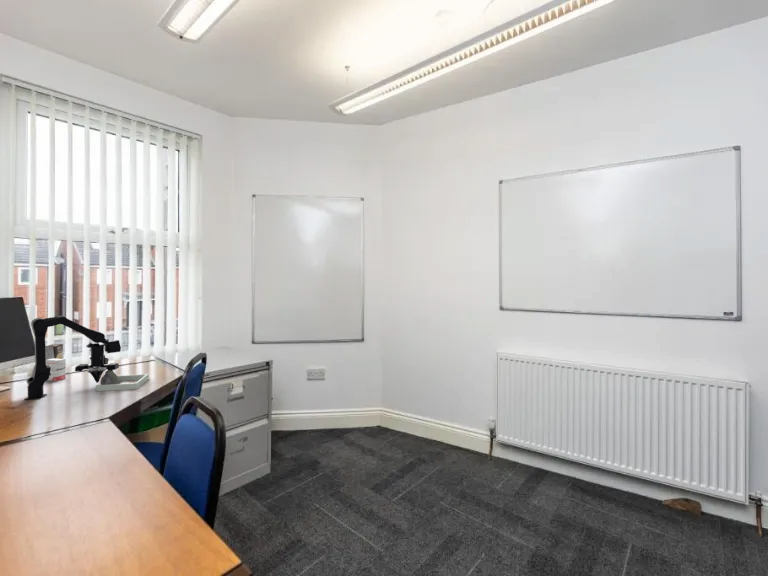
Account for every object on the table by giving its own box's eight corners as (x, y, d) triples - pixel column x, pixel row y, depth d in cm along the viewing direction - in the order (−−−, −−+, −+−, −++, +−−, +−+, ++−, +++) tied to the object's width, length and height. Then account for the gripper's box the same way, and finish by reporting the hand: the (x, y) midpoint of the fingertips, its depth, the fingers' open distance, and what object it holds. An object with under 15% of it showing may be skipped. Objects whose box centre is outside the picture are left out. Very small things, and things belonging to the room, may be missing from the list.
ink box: (66, 378, 220) (66, 358, 220) (58, 381, 215) (57, 360, 215) (53, 377, 221) (52, 358, 221) (44, 380, 216) (44, 360, 216)
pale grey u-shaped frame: (136, 388, 204) (136, 383, 204) (96, 391, 199) (95, 385, 198) (148, 378, 222) (148, 373, 222) (111, 381, 217) (111, 375, 217)
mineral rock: (102, 383, 212) (101, 365, 212) (124, 381, 216) (124, 364, 216) (95, 390, 200) (94, 371, 200) (119, 388, 204) (118, 369, 204)
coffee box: (56, 372, 234) (55, 346, 233) (43, 372, 232) (42, 347, 231) (63, 368, 242) (63, 343, 242) (51, 368, 241) (51, 344, 240)
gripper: (122, 350, 216) (122, 377, 217) (84, 351, 211) (84, 379, 212) (114, 355, 206) (114, 383, 206) (74, 356, 201) (74, 385, 201)
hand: (97, 382), depth 207 cm, fingers closed
